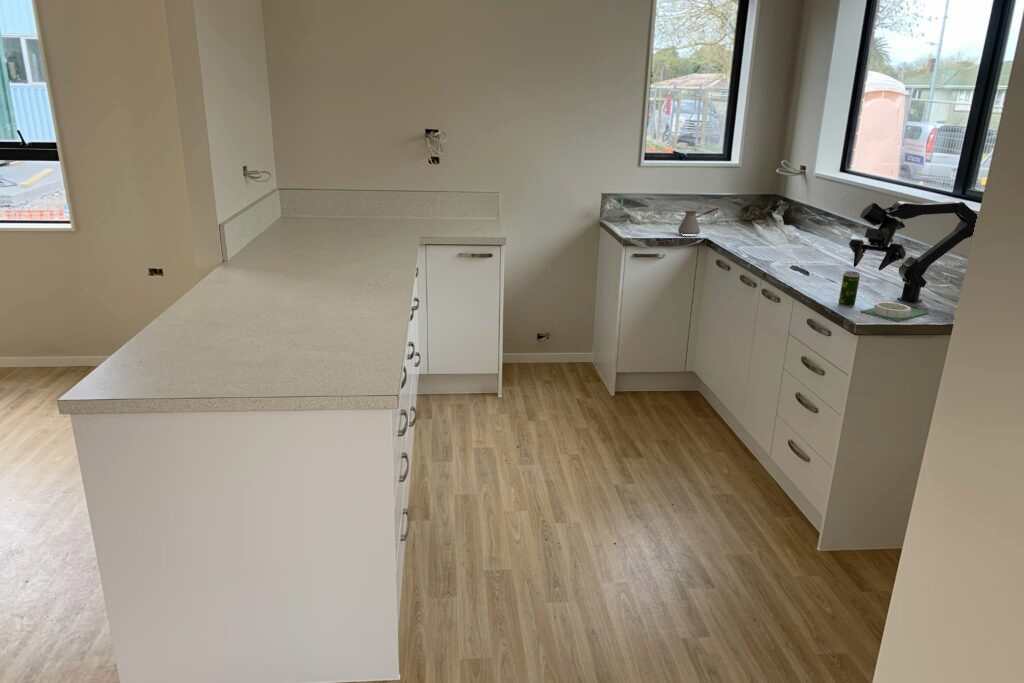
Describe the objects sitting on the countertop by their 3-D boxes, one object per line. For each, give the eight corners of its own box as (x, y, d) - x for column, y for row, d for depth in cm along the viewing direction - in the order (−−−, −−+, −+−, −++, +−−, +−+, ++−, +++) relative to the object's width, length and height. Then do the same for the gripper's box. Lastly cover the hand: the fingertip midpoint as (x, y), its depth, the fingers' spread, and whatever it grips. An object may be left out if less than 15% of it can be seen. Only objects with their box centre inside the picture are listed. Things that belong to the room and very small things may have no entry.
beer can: (849, 303, 264) (855, 271, 260) (857, 307, 259) (863, 274, 255) (835, 303, 263) (840, 270, 260) (843, 307, 258) (849, 274, 254)
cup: (884, 307, 258) (886, 300, 257) (915, 314, 250) (917, 307, 249) (867, 311, 252) (868, 304, 251) (898, 319, 244) (899, 312, 243)
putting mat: (892, 304, 264) (892, 303, 263) (928, 313, 253) (928, 312, 253) (860, 312, 253) (861, 310, 253) (897, 321, 243) (897, 320, 242)
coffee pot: (682, 237, 381) (685, 209, 376) (674, 233, 392) (677, 205, 387) (720, 237, 384) (724, 209, 380) (711, 233, 395) (715, 206, 390)
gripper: (853, 217, 265) (834, 252, 262) (905, 221, 250) (885, 258, 248) (863, 235, 272) (844, 269, 269) (914, 240, 257) (895, 276, 255)
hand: (866, 268), depth 260 cm, fingers open, 9 cm apart
